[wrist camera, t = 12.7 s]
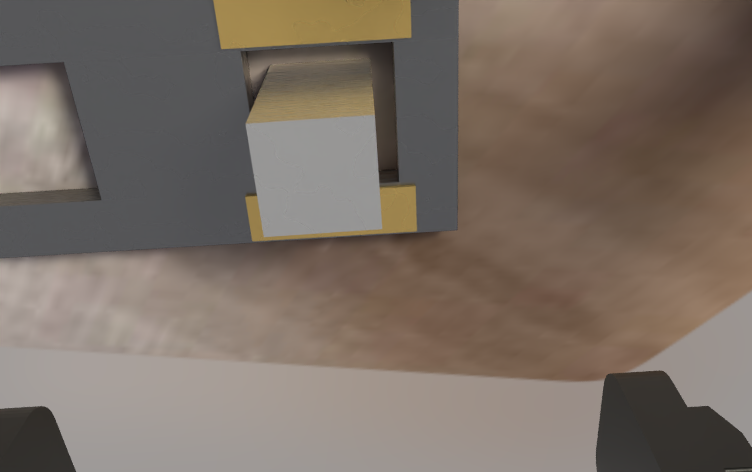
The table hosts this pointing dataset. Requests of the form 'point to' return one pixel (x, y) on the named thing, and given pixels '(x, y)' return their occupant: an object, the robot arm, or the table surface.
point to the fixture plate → (216, 115)
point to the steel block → (316, 148)
